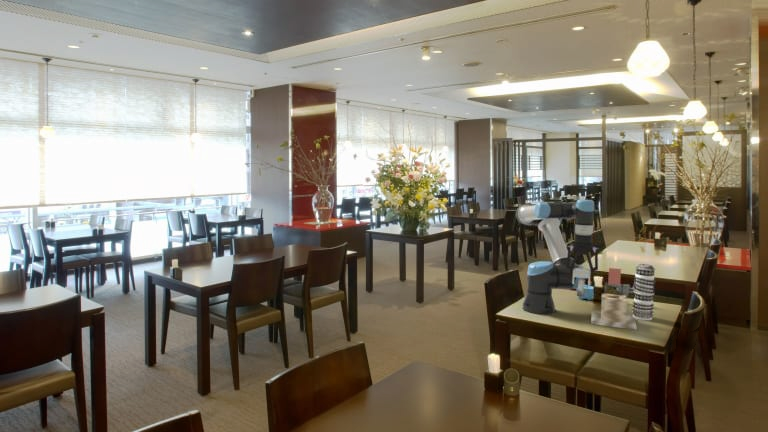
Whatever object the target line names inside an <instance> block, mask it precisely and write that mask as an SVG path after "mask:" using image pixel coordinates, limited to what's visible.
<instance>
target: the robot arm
mask: <svg viewBox="0 0 768 432" xmlns="http://www.w3.org/2000/svg"><path fill="white" fill-rule="evenodd" d="M515 217H516V220H517V221H518V222H519V223H520V224H523V225H525V226H536V227H537V228H538V229H539V231H540V232H542V234H543V236H544V239H545V242H546V246H547V248H548V252H549V254H550V258H551V260H552V262H551V261H549V260H548V261H542V260H541V261H540V260H539V261H535V262H532V263H530V264H529V265H528V267H527V272H526V275H527V276H526V277H527V281H526V282H527V283H526V294H525V297H524V300H523V302H522V310H524V311H525V312H528V313H532V314H537V315H539V314H540V315H541V314H542V315H547V314H553V313H554V312H556V305H555V302H554V299H553V296H552V295H553V294H552V292H553V289H554V290H562V289H564V290H567V289H568V290H573V289H575V290H576V289H577V280H578V277H574V272H575V268H579V269H584V267H583V266H582V265H581V264H577V260H578V258H579V256H580V255H583V256H584V255H585V256H586V259H587V263H588V266H589V278H587V279H588V281H587V285H588V286H591V279H593V278H594V272H595V271H598V270H599V256H598V255H599V251H600V248H599V247H595V246H593V233H594V218H595V201H594V200H592V199H577V201H570V202H548V201H547V202H546V201H542V202H537V203H535V204H534V203H528V204H523V205H520V206H518V208H517V209H516V210H515ZM563 219H566V220H567V219H575V222H574V223H575V227H574V233H575V234H574V240H573V242H574V243H573V245H568V246H567V245H566V242H565V240H564V236H563V234H562V232H561V229H560V225H561V223H562V221H563ZM573 250H574V251H575V252H576V253H575V255H574V258H573V257H571V255H572V251H573ZM591 251H593V253H594V265H593V262H592V259H591V255H590V253H591Z"/></svg>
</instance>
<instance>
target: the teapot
mask: <svg viewBox="0 0 768 432" xmlns="http://www.w3.org/2000/svg"><path fill="white" fill-rule="evenodd" d="M575 290H576V292H577V289H575ZM594 296H595V295H594V286H591V285H590V286H588V284H585V291H584V297H580V296H577V297H578V298H577V299H580V300H581V301H583V300H585V299H586V300H587V301H591V300H594Z"/></svg>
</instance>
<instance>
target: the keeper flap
mask: <svg viewBox="0 0 768 432" xmlns="http://www.w3.org/2000/svg"><path fill="white" fill-rule="evenodd" d="M621 275H622V269H621V268H615V267H612V268H611V267H608V278H607V279H608V282H607V283H608V286H607V287H615V286H616V287H620V284H621ZM620 288H621V287H620Z"/></svg>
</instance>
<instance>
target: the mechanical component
mask: <svg viewBox="0 0 768 432" xmlns="http://www.w3.org/2000/svg"><path fill="white" fill-rule="evenodd" d="M621 284H623V295H625V296H626V298H627V299H628V296H629V294H635V293H634V289H635V288H634V285H633V286H632V287H631V286H630V284H626V283H625V284H624V283H620V287H616V286H614V288H615V289H616V290H617V292H618V293H620V290H621Z"/></svg>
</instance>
